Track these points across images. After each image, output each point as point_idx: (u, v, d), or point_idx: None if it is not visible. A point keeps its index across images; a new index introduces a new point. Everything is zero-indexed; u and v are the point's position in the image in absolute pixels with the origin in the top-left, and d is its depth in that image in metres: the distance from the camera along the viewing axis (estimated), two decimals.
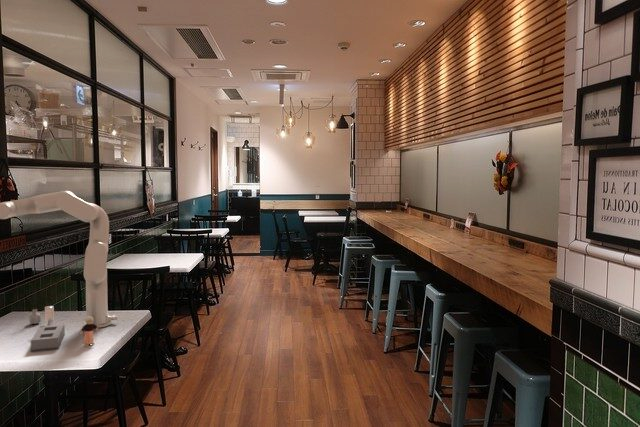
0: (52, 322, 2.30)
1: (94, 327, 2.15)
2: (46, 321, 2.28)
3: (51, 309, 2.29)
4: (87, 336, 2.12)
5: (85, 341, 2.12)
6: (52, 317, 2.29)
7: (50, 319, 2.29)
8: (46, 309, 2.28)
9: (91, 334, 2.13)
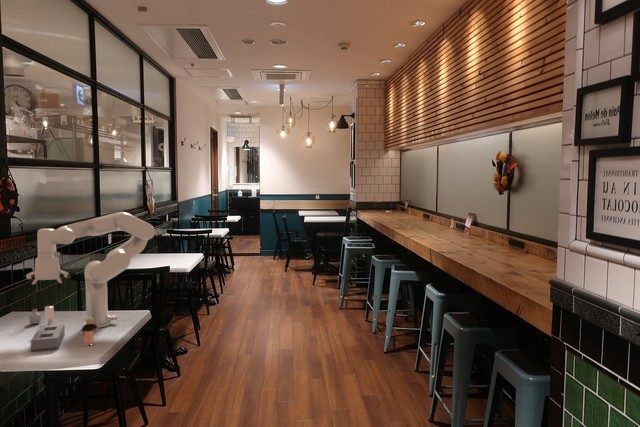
0: (52, 322, 2.30)
1: (94, 327, 2.15)
2: (46, 321, 2.28)
3: (51, 309, 2.29)
4: (87, 336, 2.12)
5: (85, 341, 2.12)
6: (52, 317, 2.29)
7: (50, 319, 2.29)
8: (46, 309, 2.28)
9: (91, 334, 2.13)
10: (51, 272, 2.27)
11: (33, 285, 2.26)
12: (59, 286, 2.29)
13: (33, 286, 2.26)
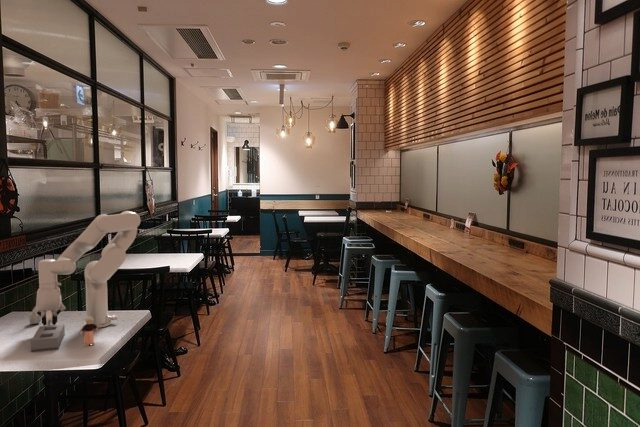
0: (52, 322, 2.30)
1: (94, 327, 2.15)
2: (46, 321, 2.28)
3: None
4: (87, 336, 2.12)
5: (85, 341, 2.12)
6: (52, 317, 2.29)
7: (50, 319, 2.29)
8: None
9: (91, 334, 2.13)
10: (53, 303, 2.28)
11: (42, 318, 2.28)
12: (54, 319, 2.29)
13: (42, 319, 2.28)
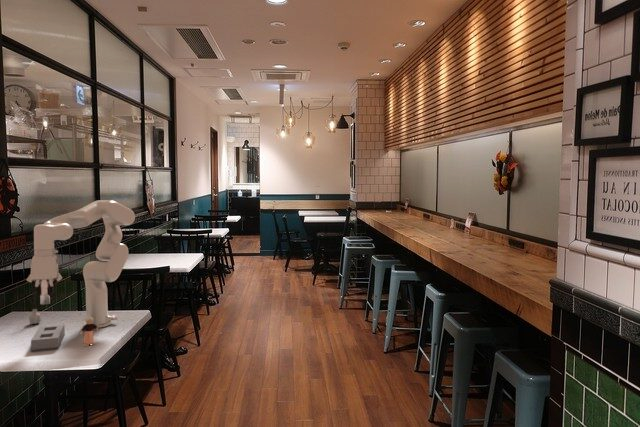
0: (47, 292, 2.12)
1: (94, 327, 2.15)
2: (41, 291, 2.11)
3: None
4: (87, 336, 2.12)
5: (85, 341, 2.12)
6: (47, 287, 2.12)
7: (45, 289, 2.11)
8: None
9: (91, 334, 2.13)
10: (48, 271, 2.11)
11: (36, 288, 2.11)
12: (50, 290, 2.12)
13: (36, 289, 2.11)
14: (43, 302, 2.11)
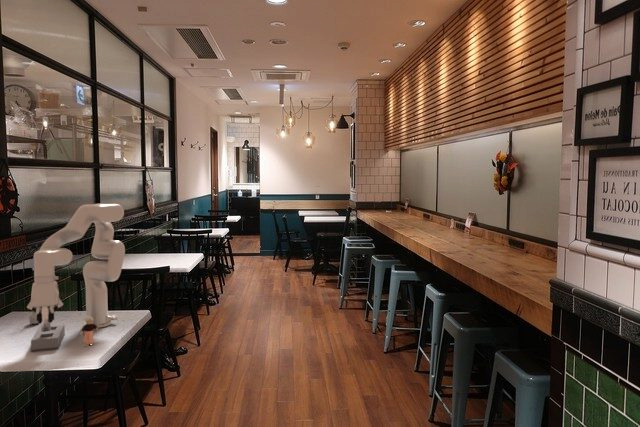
0: (48, 319, 2.09)
1: (94, 327, 2.15)
2: (42, 318, 2.08)
3: None
4: (87, 336, 2.12)
5: (85, 341, 2.12)
6: (48, 314, 2.09)
7: (46, 316, 2.08)
8: None
9: (91, 334, 2.13)
10: (49, 298, 2.07)
11: (37, 315, 2.08)
12: (51, 316, 2.09)
13: (37, 316, 2.08)
14: (44, 329, 2.08)
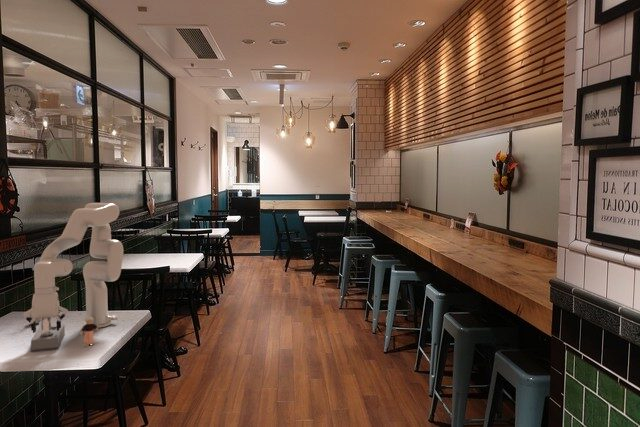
0: (49, 334, 2.10)
1: (94, 327, 2.15)
2: (43, 333, 2.09)
3: (48, 319, 2.09)
4: (87, 336, 2.12)
5: (85, 341, 2.12)
6: (49, 328, 2.10)
7: (47, 330, 2.09)
8: (42, 319, 2.08)
9: (91, 334, 2.13)
10: (50, 309, 2.08)
11: (31, 324, 2.07)
12: (58, 325, 2.10)
13: (31, 325, 2.07)
14: None
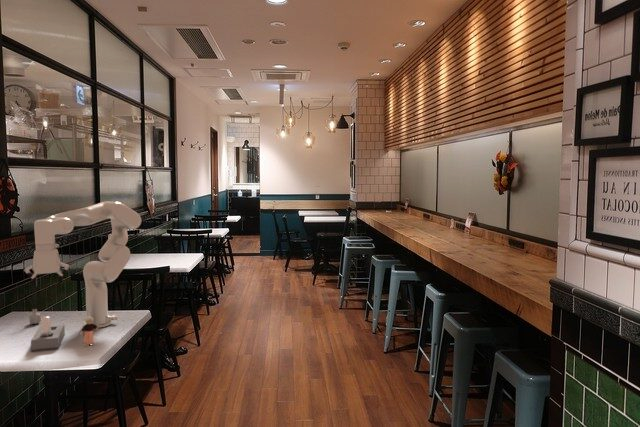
0: (49, 334, 2.10)
1: (94, 327, 2.15)
2: (42, 333, 2.09)
3: (48, 319, 2.09)
4: (87, 336, 2.12)
5: (85, 341, 2.12)
6: (49, 328, 2.10)
7: (47, 330, 2.09)
8: (42, 319, 2.08)
9: (91, 334, 2.13)
10: (51, 265, 2.15)
11: (32, 279, 2.15)
12: (60, 279, 2.18)
13: (32, 280, 2.15)
14: None
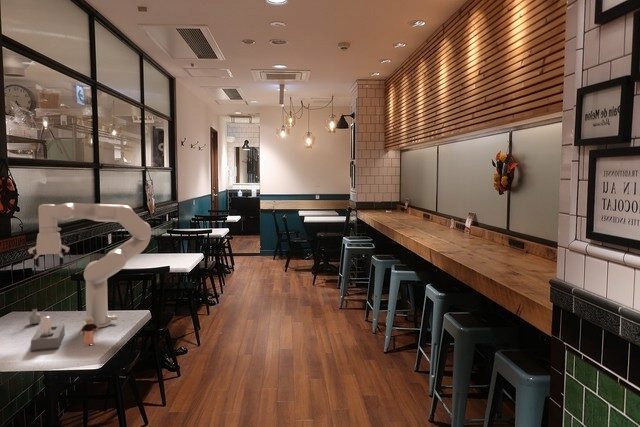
0: (49, 334, 2.10)
1: (94, 327, 2.15)
2: (43, 333, 2.09)
3: (48, 320, 2.09)
4: (87, 336, 2.12)
5: (85, 341, 2.12)
6: (49, 328, 2.10)
7: (47, 330, 2.09)
8: (43, 320, 2.08)
9: (91, 334, 2.13)
10: (52, 247, 2.31)
11: (35, 260, 2.30)
12: (61, 261, 2.33)
13: (35, 261, 2.30)
14: None
